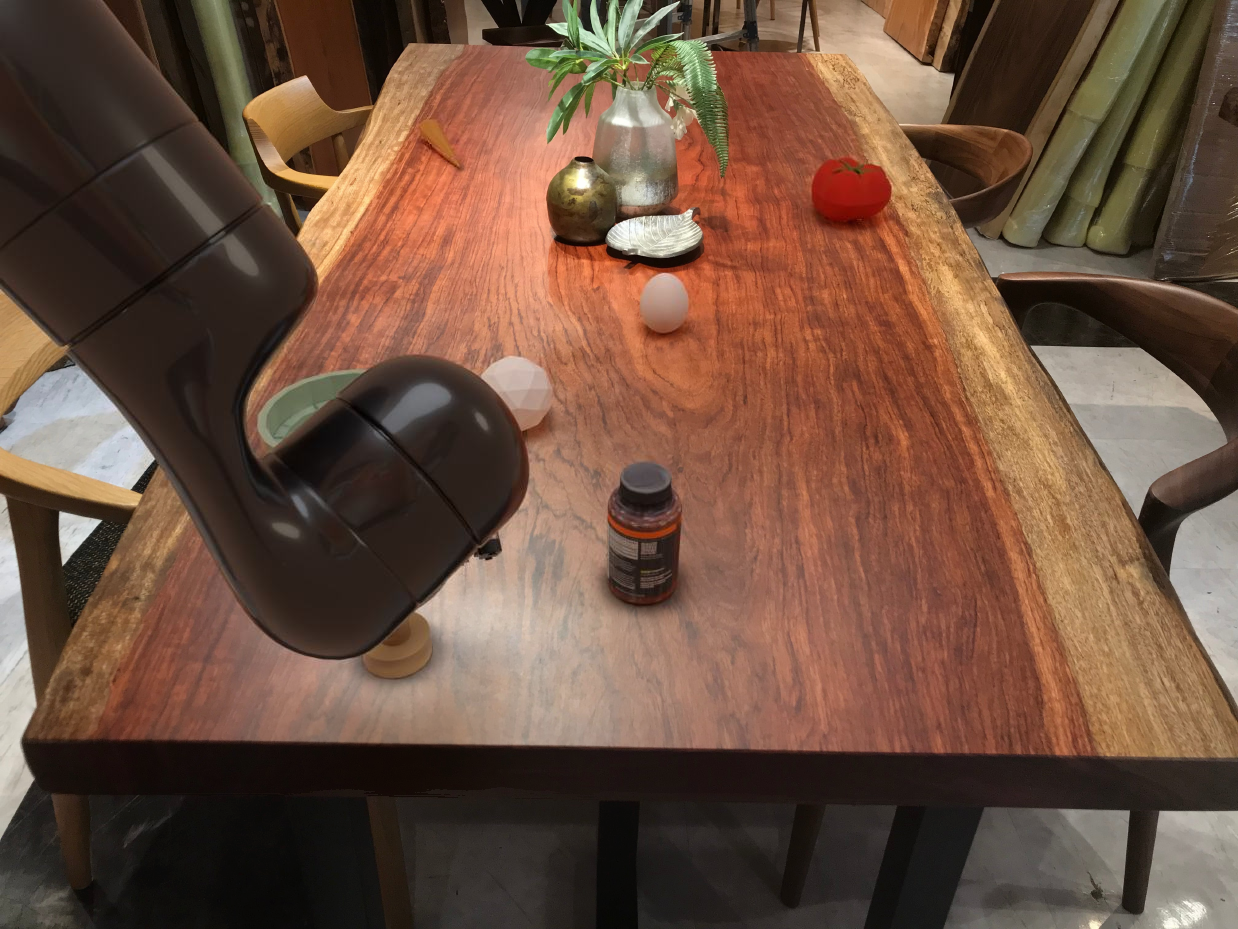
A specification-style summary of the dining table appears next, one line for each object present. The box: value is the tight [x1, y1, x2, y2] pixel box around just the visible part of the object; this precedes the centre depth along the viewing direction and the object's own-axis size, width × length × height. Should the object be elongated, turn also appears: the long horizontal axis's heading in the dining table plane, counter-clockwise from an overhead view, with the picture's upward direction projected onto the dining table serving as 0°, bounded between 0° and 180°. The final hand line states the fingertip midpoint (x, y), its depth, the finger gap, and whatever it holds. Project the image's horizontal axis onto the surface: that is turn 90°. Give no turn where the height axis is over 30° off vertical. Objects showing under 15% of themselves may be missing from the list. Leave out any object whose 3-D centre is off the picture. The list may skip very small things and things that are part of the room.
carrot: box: [418, 118, 461, 169], centre depth 166 cm, size 20×4×4 cm, turn 26°
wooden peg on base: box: [361, 611, 433, 679], centre depth 65 cm, size 5×5×12 cm
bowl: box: [256, 368, 367, 455], centre depth 86 cm, size 16×16×6 cm
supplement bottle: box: [606, 461, 683, 605], centre depth 72 cm, size 6×6×11 cm
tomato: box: [810, 157, 893, 223], centre depth 143 cm, size 14×13×9 cm
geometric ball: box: [480, 355, 554, 432], centre depth 92 cm, size 8×8×8 cm
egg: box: [639, 272, 690, 334], centre depth 110 cm, size 6×6×8 cm
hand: (382, 565), depth 61 cm, fingers open, 8 cm apart
